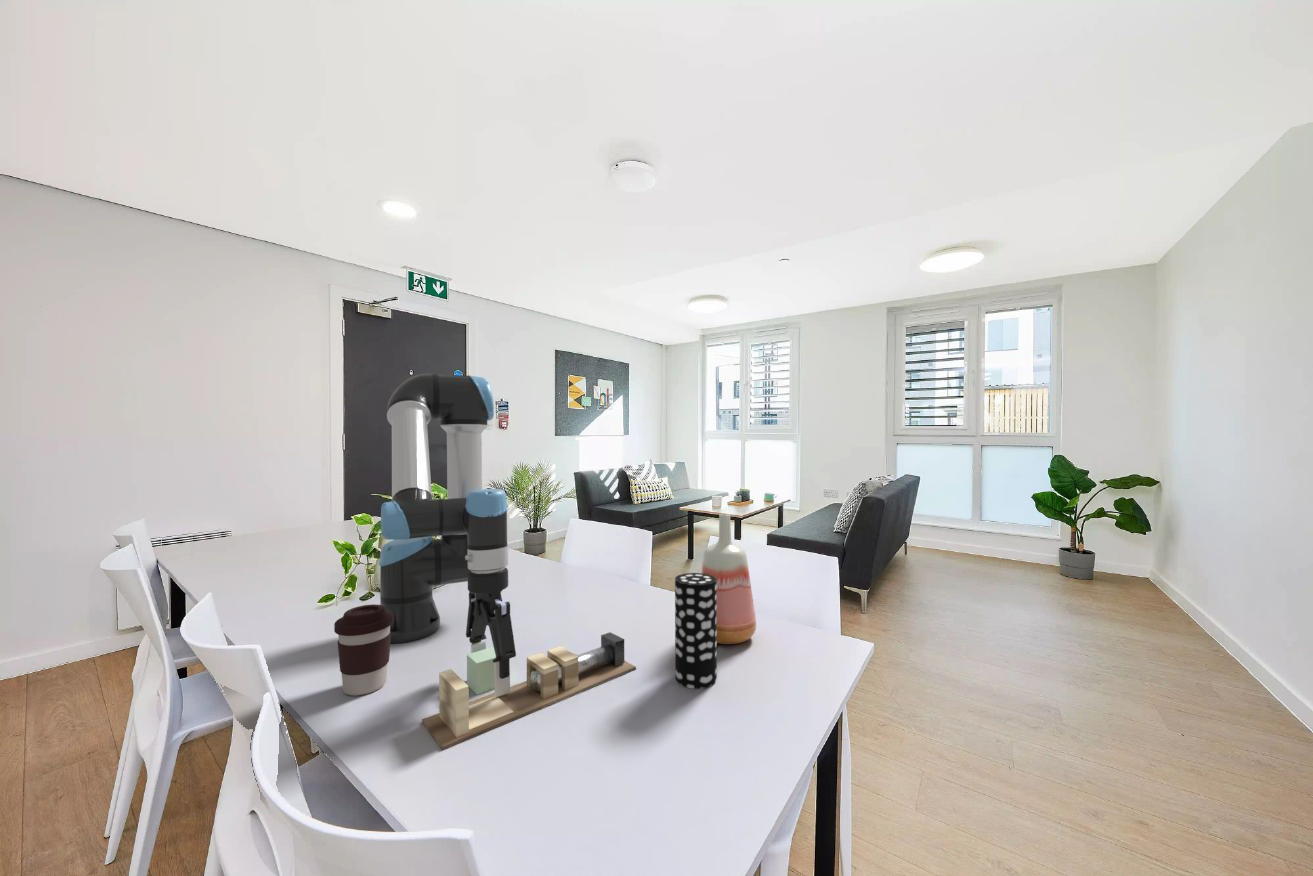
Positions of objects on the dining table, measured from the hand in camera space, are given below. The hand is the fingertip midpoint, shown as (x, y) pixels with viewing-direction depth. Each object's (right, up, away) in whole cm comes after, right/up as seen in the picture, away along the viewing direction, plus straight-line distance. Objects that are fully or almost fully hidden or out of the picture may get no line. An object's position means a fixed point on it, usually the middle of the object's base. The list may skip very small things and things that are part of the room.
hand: (490, 684), depth 95 cm
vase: (+49, -1, +24) cm, 54 cm away
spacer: (-1, -1, +1) cm, 2 cm away
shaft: (+17, 0, +4) cm, 17 cm away
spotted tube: (+40, -1, +3) cm, 40 cm away
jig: (+10, -1, -2) cm, 10 cm away
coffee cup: (-24, -1, 0) cm, 24 cm away
